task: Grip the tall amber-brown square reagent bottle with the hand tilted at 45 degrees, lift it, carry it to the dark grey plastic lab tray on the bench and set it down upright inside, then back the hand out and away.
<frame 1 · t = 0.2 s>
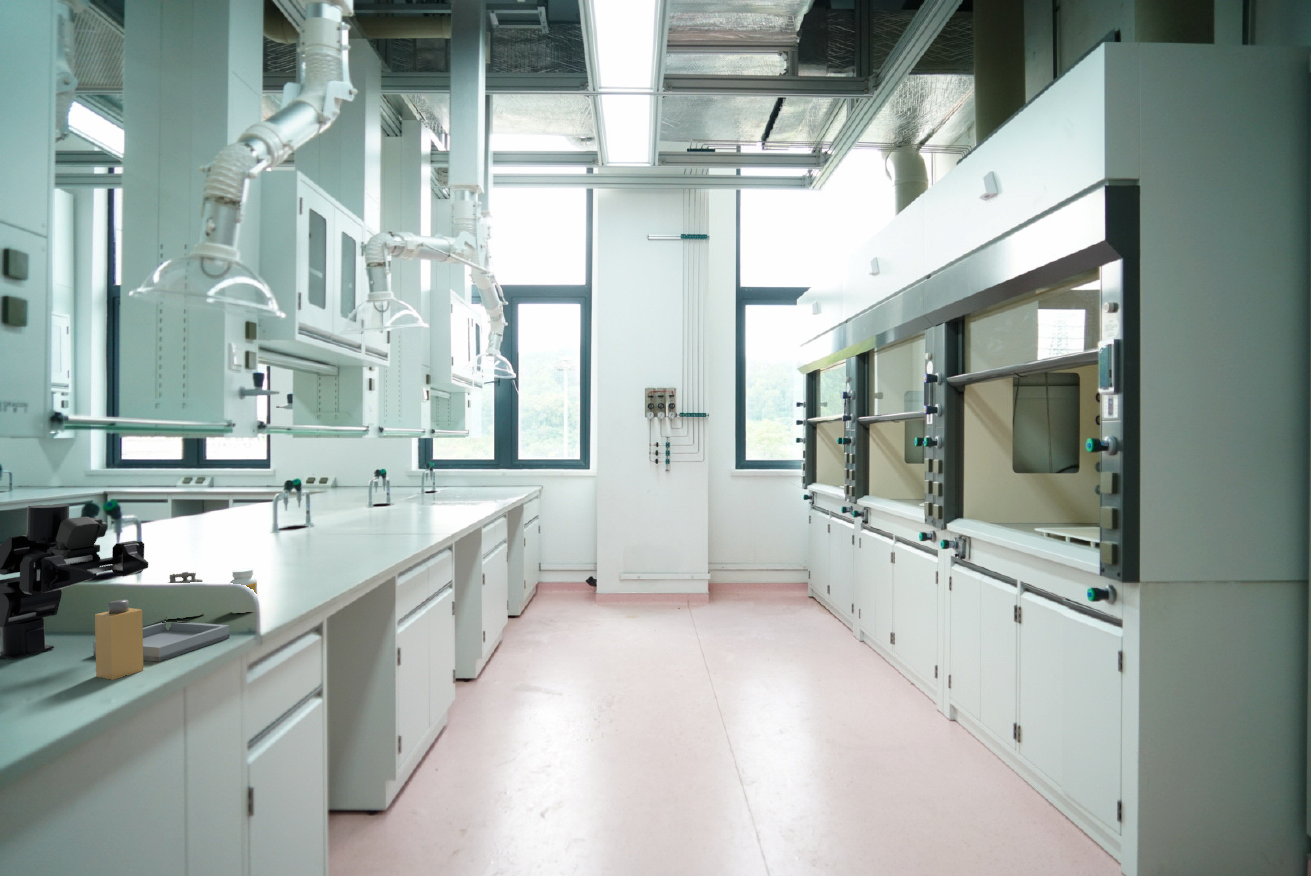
hand: (120, 570, 115), 17 cm above the counter, tool horizontal, fingers open, 9 cm apart
reagent bottle: (120, 673, 110), on the counter
supplement bottle: (243, 612, 149), on the counter
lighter: (184, 618, 145), on the counter
tray: (164, 646, 124), on the counter
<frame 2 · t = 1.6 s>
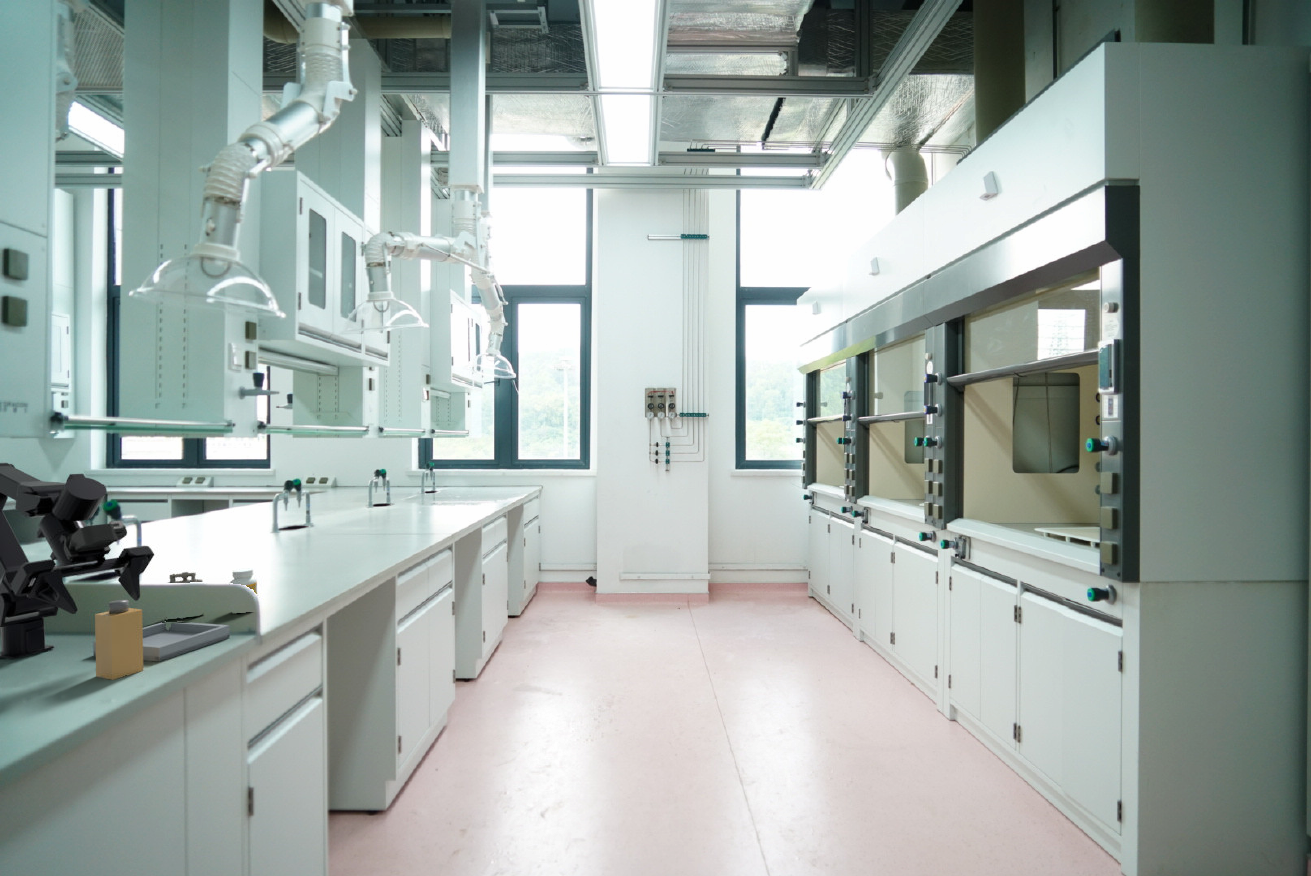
hand: (107, 605, 111), 11 cm above the counter, tool tilted 45°, fingers open, 9 cm apart
nothing on the counter moved.
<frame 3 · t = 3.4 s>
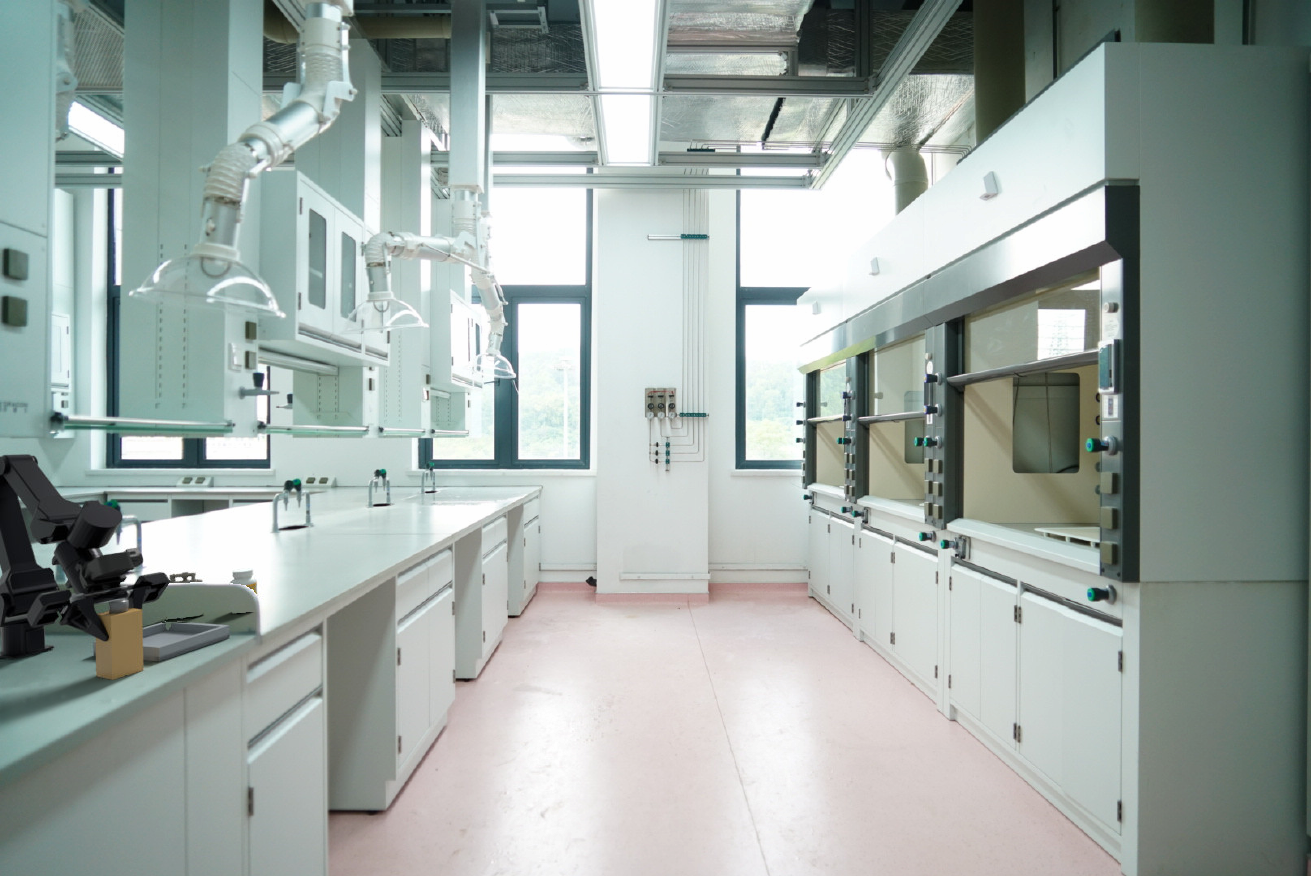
hand: (124, 635, 109), 7 cm above the counter, tool tilted 45°, fingers closed on reagent bottle, 5 cm apart
reagent bottle: (120, 673, 110), on the counter, touching gripper
everything else where it was.
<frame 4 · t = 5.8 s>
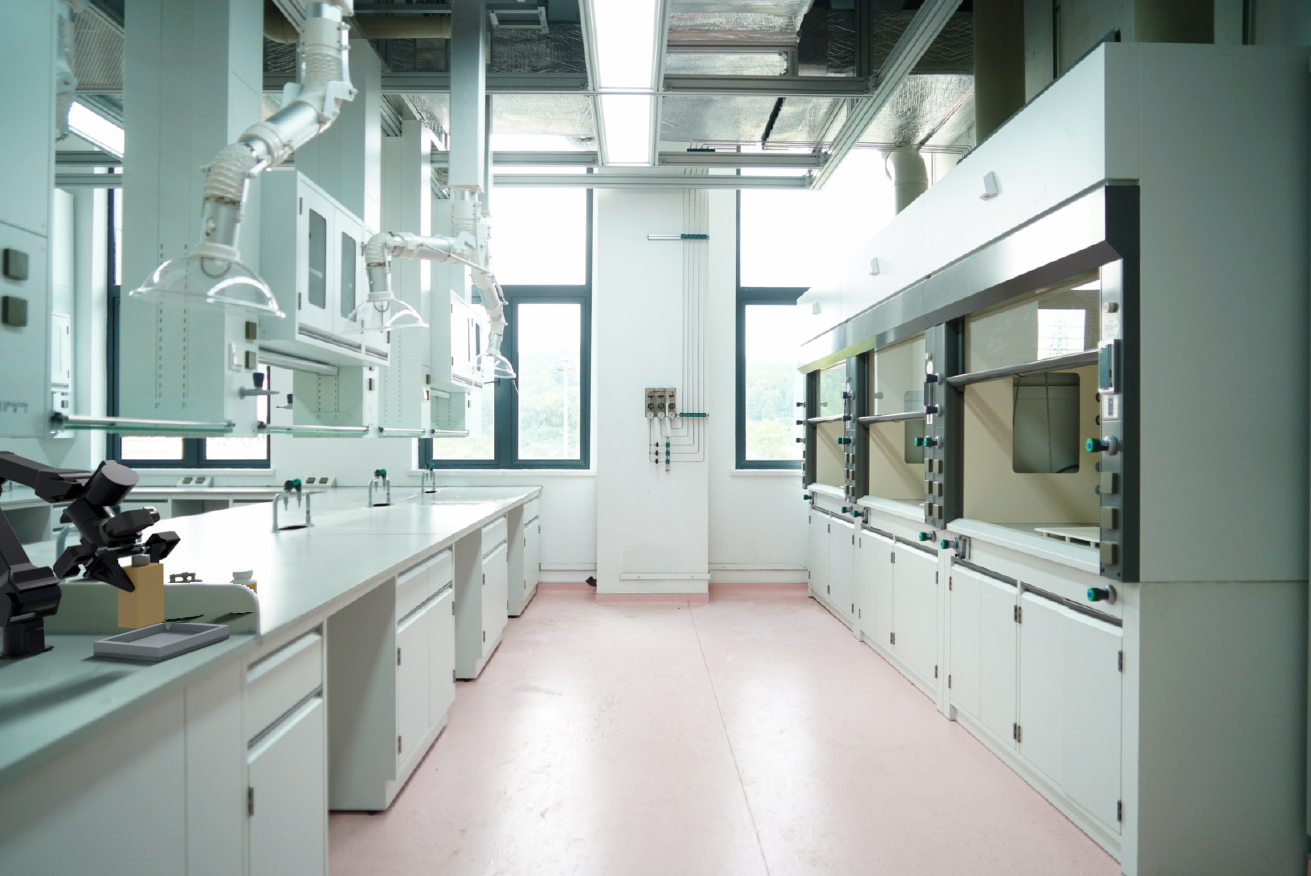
hand: (147, 587, 115), 13 cm above the counter, tool tilted 45°, fingers closed on reagent bottle, 5 cm apart
reagent bottle: (141, 623, 115), point 7 cm above the counter, touching gripper
everything else where it was.
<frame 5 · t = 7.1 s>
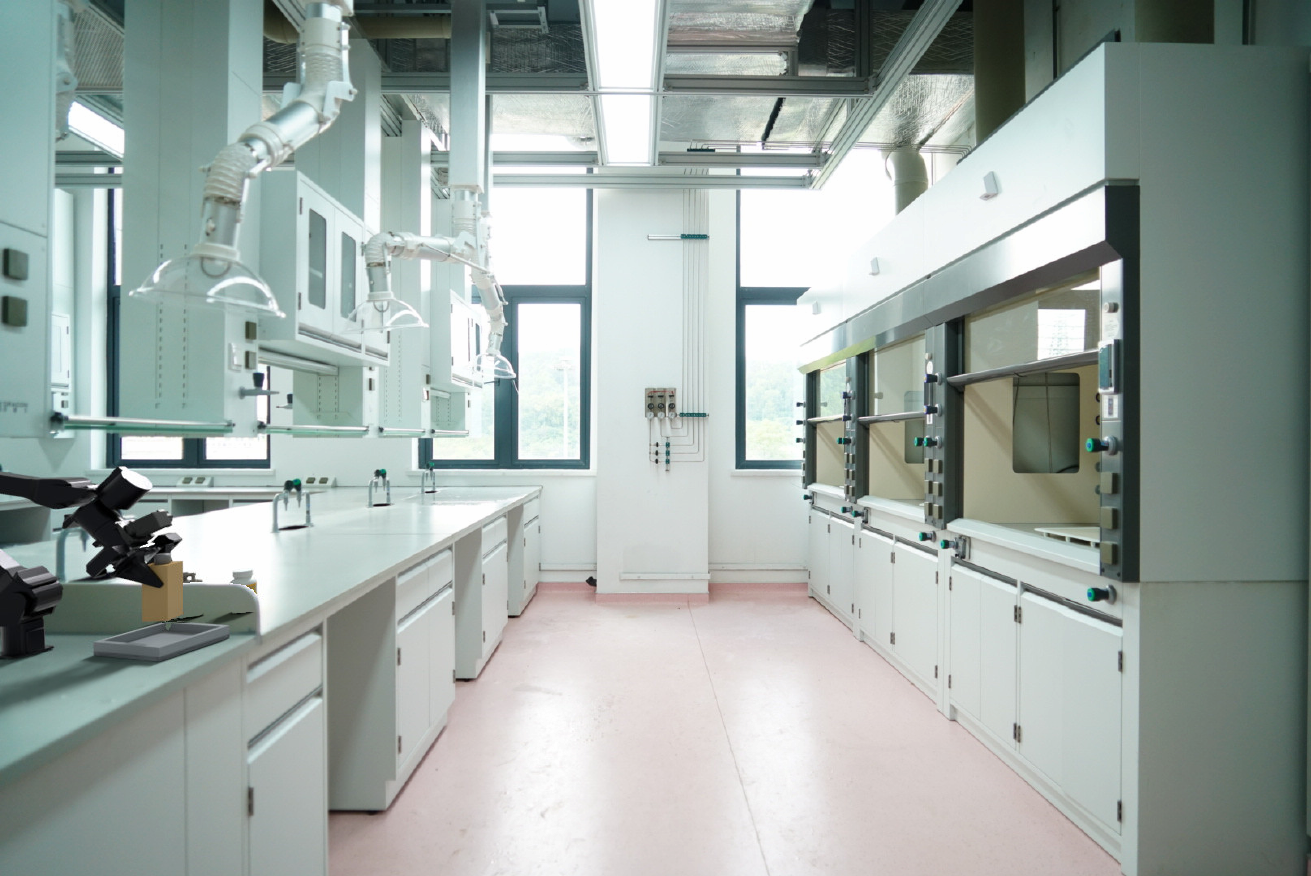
hand: (170, 583, 124), 12 cm above the counter, tool tilted 45°, fingers closed on reagent bottle, 5 cm apart
reagent bottle: (163, 617, 124), point 5 cm above the counter, touching gripper
everything else where it was.
when the fingers open (9 cm above the counter, at t = 8.2 s): reagent bottle drops 1 cm, resting on tray.
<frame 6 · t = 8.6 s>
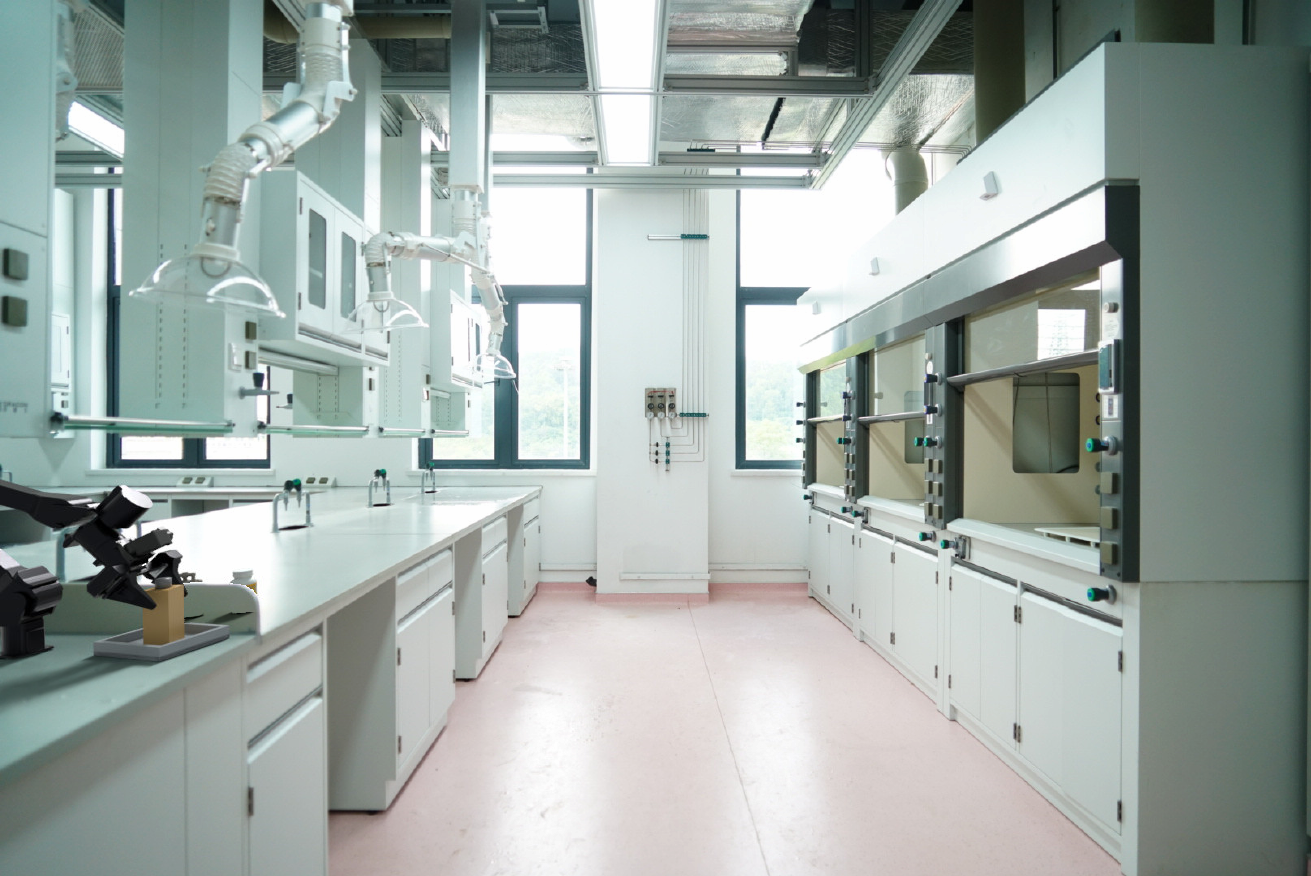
hand: (171, 601, 124), 9 cm above the counter, tool tilted 45°, fingers open, 9 cm apart
reagent bottle: (164, 642, 124), point 1 cm above the counter, touching tray
everything else where it was.
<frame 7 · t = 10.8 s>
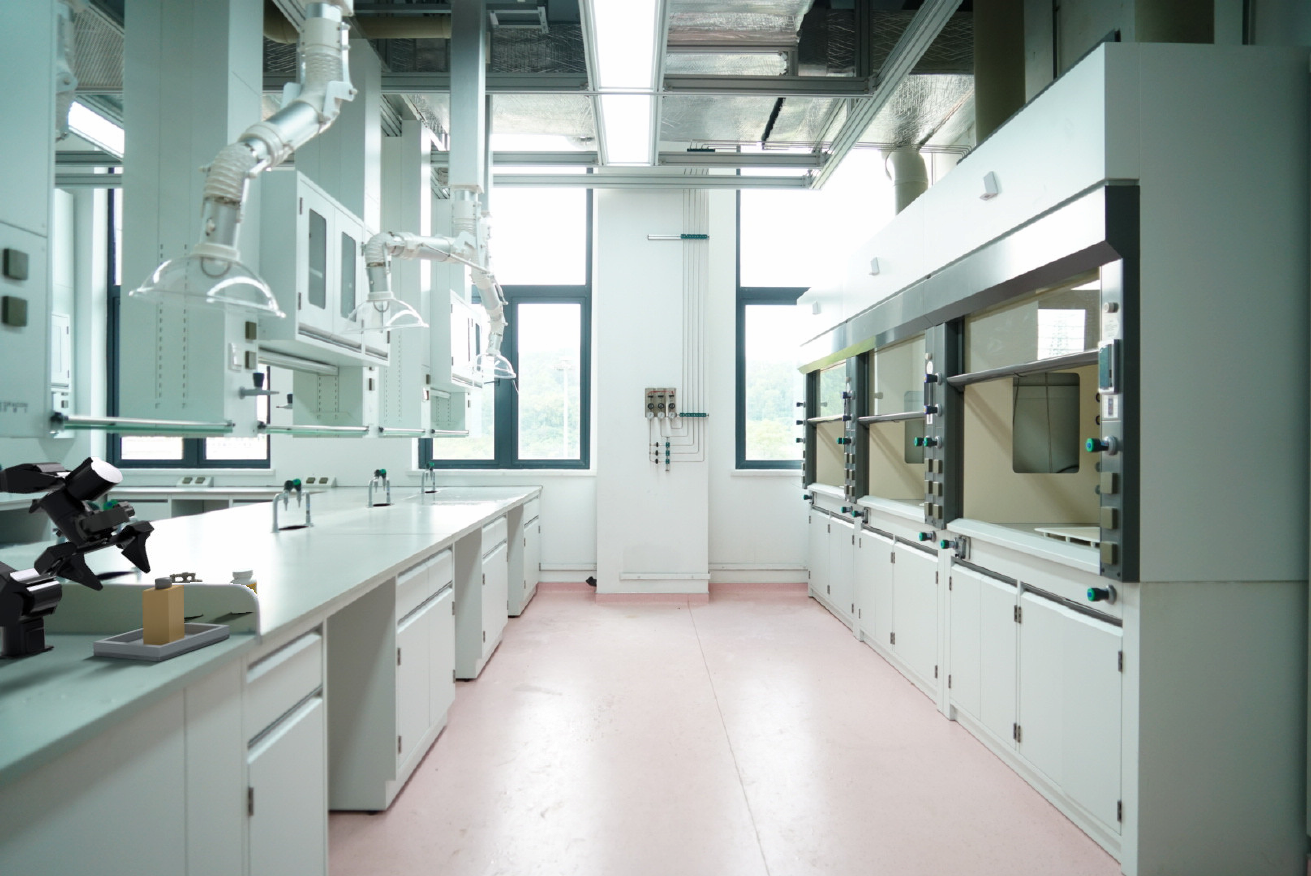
hand: (125, 580, 122), 13 cm above the counter, tool tilted 40°, fingers open, 9 cm apart
nothing on the counter moved.
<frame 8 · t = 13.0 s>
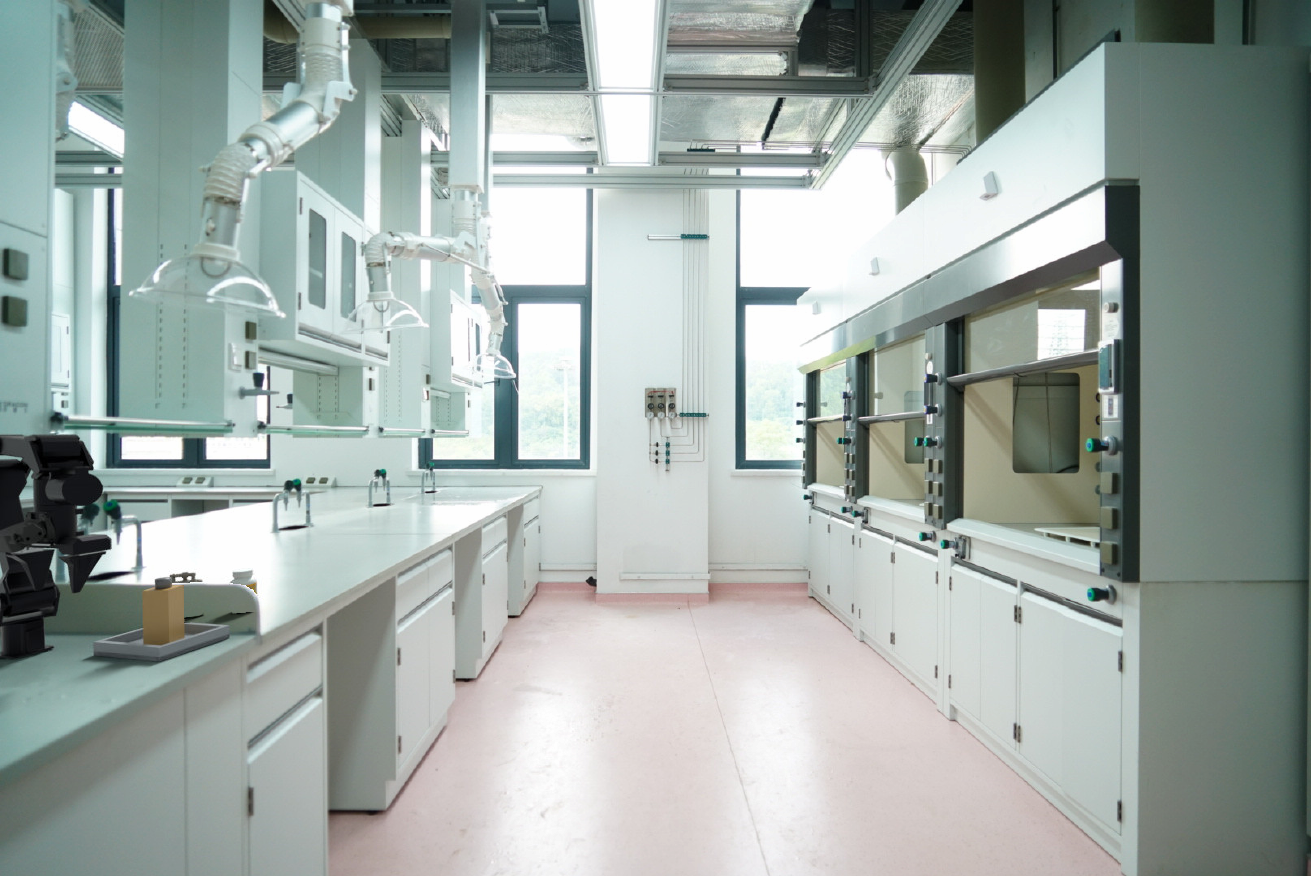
hand: (57, 591, 115), 13 cm above the counter, tool pointing down, fingers open, 9 cm apart
nothing on the counter moved.
at the end: reagent bottle inside the target area on the tray (0.1 cm from its centre), point 0.8 cm above the tray's base; reagent bottle tilted 0°; the gripper is holding nothing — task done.
